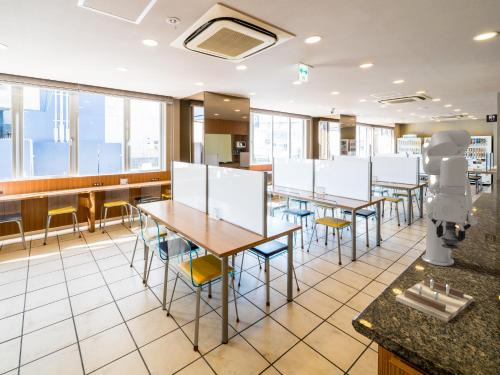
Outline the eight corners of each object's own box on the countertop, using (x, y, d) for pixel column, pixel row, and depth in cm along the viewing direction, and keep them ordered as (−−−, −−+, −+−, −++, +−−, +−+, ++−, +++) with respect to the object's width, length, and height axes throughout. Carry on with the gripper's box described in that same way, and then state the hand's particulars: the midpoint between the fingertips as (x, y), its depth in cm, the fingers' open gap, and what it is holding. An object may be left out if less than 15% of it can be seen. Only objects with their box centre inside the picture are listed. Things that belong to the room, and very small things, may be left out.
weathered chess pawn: (436, 245, 102) (437, 214, 101) (446, 243, 104) (448, 212, 103) (453, 250, 96) (454, 217, 95) (463, 247, 99) (465, 215, 97)
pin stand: (423, 283, 107) (423, 270, 106) (472, 301, 94) (473, 286, 93) (395, 300, 96) (395, 285, 96) (447, 322, 83) (448, 305, 82)
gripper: (421, 189, 103) (420, 235, 105) (478, 193, 89) (475, 246, 91) (430, 188, 107) (429, 232, 109) (486, 191, 93) (483, 242, 95)
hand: (450, 238), depth 100 cm, fingers closed on weathered chess pawn, 5 cm apart
